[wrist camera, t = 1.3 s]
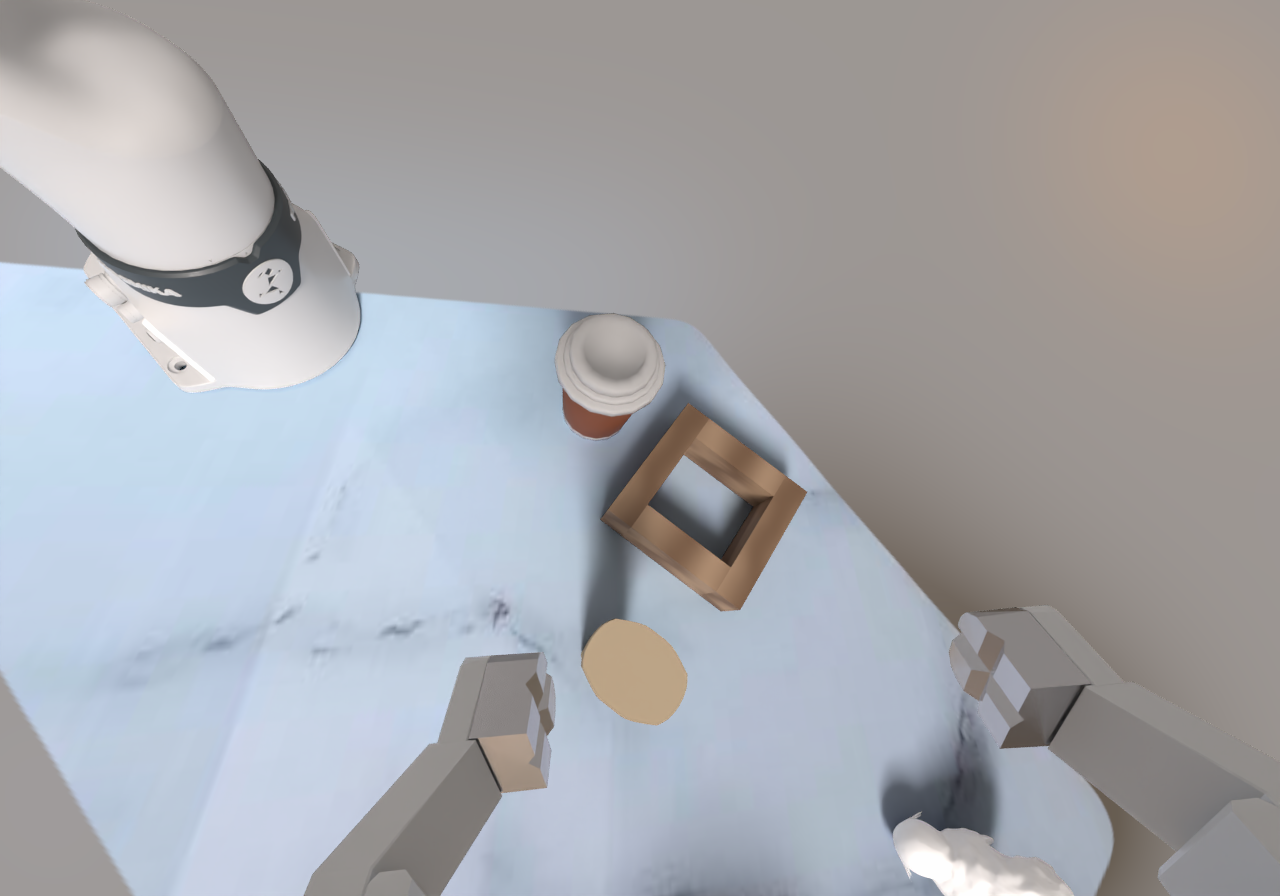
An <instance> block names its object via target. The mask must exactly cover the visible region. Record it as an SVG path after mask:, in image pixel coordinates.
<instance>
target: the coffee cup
mask: <svg viewBox="0 0 1280 896" xmlns="http://www.w3.org/2000/svg"><path fill="white" fill-rule="evenodd" d="M555 367H556V372H557V376H558V381H559V383H560V384H561V386H562V387H563V409H562V410H563V414H564V419H565V422H566V423H567V425H568V426H569V427H570V429H571V430H572V431H573V432H574V433H576V434H577V435H579V436H580V437H582V438H584V439H589V440H593V441H598V440H605V439H609V438H610V437H612V436H614V435H615V434H617V433H618V432H619V431H620V429H621V428H622V426H623V425H624V424H625V422H626V421H627V420H628V419H629V417H630V416H631V415H632V414H633V413H635V412H637V411H638V410H640V409H642V408H643V407H645V406H646V405H648V404H650V403H651V401H652V400H653V398H654V397H655V395H656V394H657V392H658V391H659V389H660V388H661V386H662V385H663V379H664V372H665V362H664V359H663V355H662V351H661V348H660V346H659V344H658V343H657V342H656V340H655V339H654V338H653V336H652V335H651V334H650V332H649V331H648V330H647V329H646V328H645V327H644V326H642V325H641V324H639V323H638V322H636V321H635V320H633V319H632V318H630V317H626V316H622V315H619V314H615V313H611V314H599V315H590V316H588V317H586V318H584V319H582V320H580V321H578V322H576V323H574V324H572V325H571V326H570V327H569V329H568V330H567V331H566V332H565V333H564V335H563V336H562V337H561V338H560V339H559V344H558V348H557V352H556V356H555Z"/></svg>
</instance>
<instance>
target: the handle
mask: <svg viewBox="0 0 1280 896" xmlns="http://www.w3.org/2000/svg"><path fill="white" fill-rule="evenodd" d="M581 657H582V661H581V667H582V669H583V671H584V673H585V676H586V678H587V680H588V682H589V684H590V686H591V688H592V690H593V691H594V693H595V695H596V696H597V697H598V698H599V699H600V700H601V701H602V702H603V703H605V704H606V705H607V706H608V707H610V708H611V709H612V710H614V711H615V712H616V713H617V714H619V715H620V716H621V717H623V718H625V719H627V720H630V721H633V722H639V723H644V724H651V725H659V724H661V723H663V722H664V721H666V720H667V719H669V718H670V717H671V716H672V715H673V714H674V712H675V711H676V710H677V708H678V707H679V705H680V703H681V701H682V699H683V697H684V694H685V691H686V687H687V673H686V671H685V669H684V667H683V665H682V663H681V661H680V659H679V657H678V655H677V653H676V652H675V650H674V649H673V647H672V646H671V645H670V644H669V643H668V642H667V641H666V640H665V639H663V638H662V637H661V636H660V635H658V634H657V633H656V632H654V631H653V630H652V629H650V628H649V627H647V626H645V625H642V624H640V623H636V622H631V621H626V620H621V619H612V620H610V621H608V622H606V623H604V624H602V625H601V626H600V627H599V628H598V629H597V630H596V631H595V632H594V633H593V634H592V636H591V637H590V639H589V640H588V642H587V644H586V645H585V647H584V650H583V651H582V653H581Z"/></svg>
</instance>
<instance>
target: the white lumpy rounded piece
mask: <svg viewBox="0 0 1280 896" xmlns="http://www.w3.org/2000/svg"><path fill="white" fill-rule="evenodd" d="M921 812H922V811H921ZM921 812H919V813H917V814H916V815H914V816H912V817H911V818H910V817H909V818H908V819H906V820H904V821H903V822H901V823H899V824H898V825H897V826H896V828H895V829H894V831H893V842H894V846H895V849H896V851H897V853H898V856H899V858H900V859H901V860H902V863H903V864H904V867H905V869H906V872H907V874H908V876H909V878H910V875H909V873H910V871H909V869H911V870H912V871H913V872H915V873H917V874H919V875H921V876H924V877H927V878H931V879H933V881H934V882H935V883H936V885H937V886H938V888H939V889H940V891H941V892H942V893H943V894H944V895H945V896H1074V895H1073V893H1072V891H1071V889H1070V887H1069V886H1068V885H1067V884H1066V883H1065V882H1064V881H1063V880H1062V879H1061V878H1060V877H1059V876H1058V875H1057V874H1056V873H1055V871H1054V869H1053V867H1052V866H1050V865H1049V864H1047V863H1046V862H1045V861H1043V860H1041V859H1039V858H1037V857H1029V858H1027V857H1021V856H1014V857H1009V856H1006V855H1004V854H1002V853H1000V852H998V851H997V850H995V849H994V848H993V847H991V846H990V845H991V844H992V843H993V842H994V840H993V838H991V837H989V836H986V835H980V834H979V833H977V832H975V831H972V830H968V829H966V828H959V829H949V828H947V829H944V830H942V831H938V830H936V829H935V828H934V827H932V826H931V825H929V824H928V823H926V822H924V821H921V820H918V819H916V818H918V817H920V816H921V815H919V814H920V813H921ZM918 815H919V816H918ZM907 869H908V870H907ZM908 871H909V872H908ZM910 874H911V873H910Z"/></svg>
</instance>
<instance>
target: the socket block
mask: <svg viewBox="0 0 1280 896" xmlns="http://www.w3.org/2000/svg"><path fill="white" fill-rule="evenodd" d="M683 455H685V456H686V457H688V458H689V459H690V460H692V461H693V462H694V463H696V464H697V465H698V466H700V467H701V468H702V469H704V470H705V471H706V472H708V473H709V474H710V475H712V476H713V477H714V478H716V479H717V480H718V481H720V482H721V483H722V484H724V485H725V486H726V487H728V488H729V489H730V490H732V491H733V492H734V493H736V494H737V495H738V496H740V497H741V498H742V499H743V500H745V501H746V502H747V503H749V504H750V505H751V506H753V508H752V510H751V511H750V513H749V515H748V516H747V518H746V519H745V521H744V523H743V524H742V526H741V528H740V529H739V531H738V532H737V534H736V536H735V537H734V539H733V541H732V542H731V544H730V546H729V547H728V549H727V550H726V552H725V554H724V555H723V557H722V559H721V560H720V559H719V558H718V557H716V556H715V555H714V554H712V553H711V552H710V551H708V550H707V549H706V548H705V547H703V546H702V545H701V544H699V543H698V542H697V541H695V540H694V539H693V538H691V537H690V536H689V535H687V534H686V533H685V532H683V531H682V530H681V529H679V528H678V527H677V526H675V525H674V524H673V523H671V522H670V521H669V520H668V519H666V518H665V517H664V516H662V515H661V514H660V513H658V512H657V511H656V510H654V509H653V508H652V507H650V506H649V505H648V504H649V502H650V501H651V499H652V498H653V497H654V495H655V494H656V492H657V491H658V490H659V488H660V487H661V485H662V484H663V483H664V481H665V480H666V478H667V477H668V476H669V474H670V473H671V472H672V470H673V469H674V467H675V466H676V465H677V463H678V462H679V460H680V459H681V458H682V456H683ZM806 493H807V491H805V490H804V489H803V488H801V487H800V486H799V485H797V484H796V483H795V482H793V481H792V480H791V479H789V478H788V477H787V476H785V475H784V474H783V473H781V472H780V471H779V470H777V469H776V468H775V467H773V466H772V465H771V464H769V463H768V462H767V461H765V460H764V459H763V458H761V457H760V456H759V455H757V454H756V453H754V452H753V451H752V450H750V449H749V448H748V447H746V446H745V445H744V444H742V443H741V442H740V441H738V440H737V439H736V438H734V437H733V436H732V435H730V434H729V433H728V432H726V431H725V430H724V429H722V428H721V427H720V426H718V425H717V424H716V423H714V422H713V421H712V420H710V419H709V418H708V417H706V416H705V415H704V414H702V413H701V412H700V411H698V410H697V409H696V408H694V407H693V406H692V405H690V404H689V403H688V404H687V405H686V407H685V408H684V409H683V411H682V412H681V413H680V415H679V416H678V417H677V419H676V420H675V421H674V423H673V424H672V425H671V427H670V428H669V429H668V431H667V432H666V433H665V435H664V436H663V437H662V438H661V440H660V441H659V442H658V444H657V445H656V446H655V448H654V449H653V450H652V452H651V453H650V454H649V456H648V457H647V458H646V460H645V461H644V462H643V464H642V465H641V466H640V468H639V469H638V470H637V472H636V473H635V474H634V476H633V477H632V478H631V480H630V481H629V482H628V484H627V485H626V486H625V488H624V489H623V490H622V492H621V493H620V494H619V495H618V497H617V498H616V499H615V501H614V502H613V503H612V505H611V506H610V507H609V509H608V510H607V511H606V513H605V514H604V515H603V517H602V518H601V519H600V520H601V521H603V522H604V523H605V524H607V525H608V526H609V527H611V528H612V529H613V530H615V531H616V532H617V533H619V534H620V535H621V536H622V537H624V538H625V539H626V540H628V541H629V542H630V543H632V544H633V545H634V546H636V547H637V548H638V549H640V550H641V551H642V552H644V553H645V554H646V555H647V556H649V557H650V558H651V559H653V560H654V561H655V562H657V563H658V564H659V565H661V566H662V567H663V568H665V569H666V570H667V571H669V572H670V573H671V574H673V575H674V576H675V577H676V578H678V579H679V580H680V581H682V582H683V583H684V584H686V585H687V586H688V587H690V588H691V589H692V590H694V591H695V592H696V593H698V594H699V595H700V596H701V597H703V598H704V599H705V600H707V601H708V602H709V603H711V604H712V605H713V606H715V607H716V608H717V609H719V610H720V611H731V610H740V609H741V607H742V606H743V604H744V602H745V600H746V599H747V597H748V595H749V593H750V592H751V590H752V588H753V586H754V585H755V583H756V581H757V579H758V578H759V576H760V574H761V572H762V571H763V569H764V567H765V565H766V564H767V562H768V560H769V558H770V557H771V555H772V553H773V551H774V550H775V548H776V546H777V544H778V543H779V541H780V539H781V537H782V536H783V534H784V532H785V530H786V529H787V527H788V525H789V523H790V522H791V520H792V518H793V516H794V515H795V513H796V511H797V509H798V507H799V506H800V504H801V502H802V500H803V499H804V497H805V495H806Z"/></svg>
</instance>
